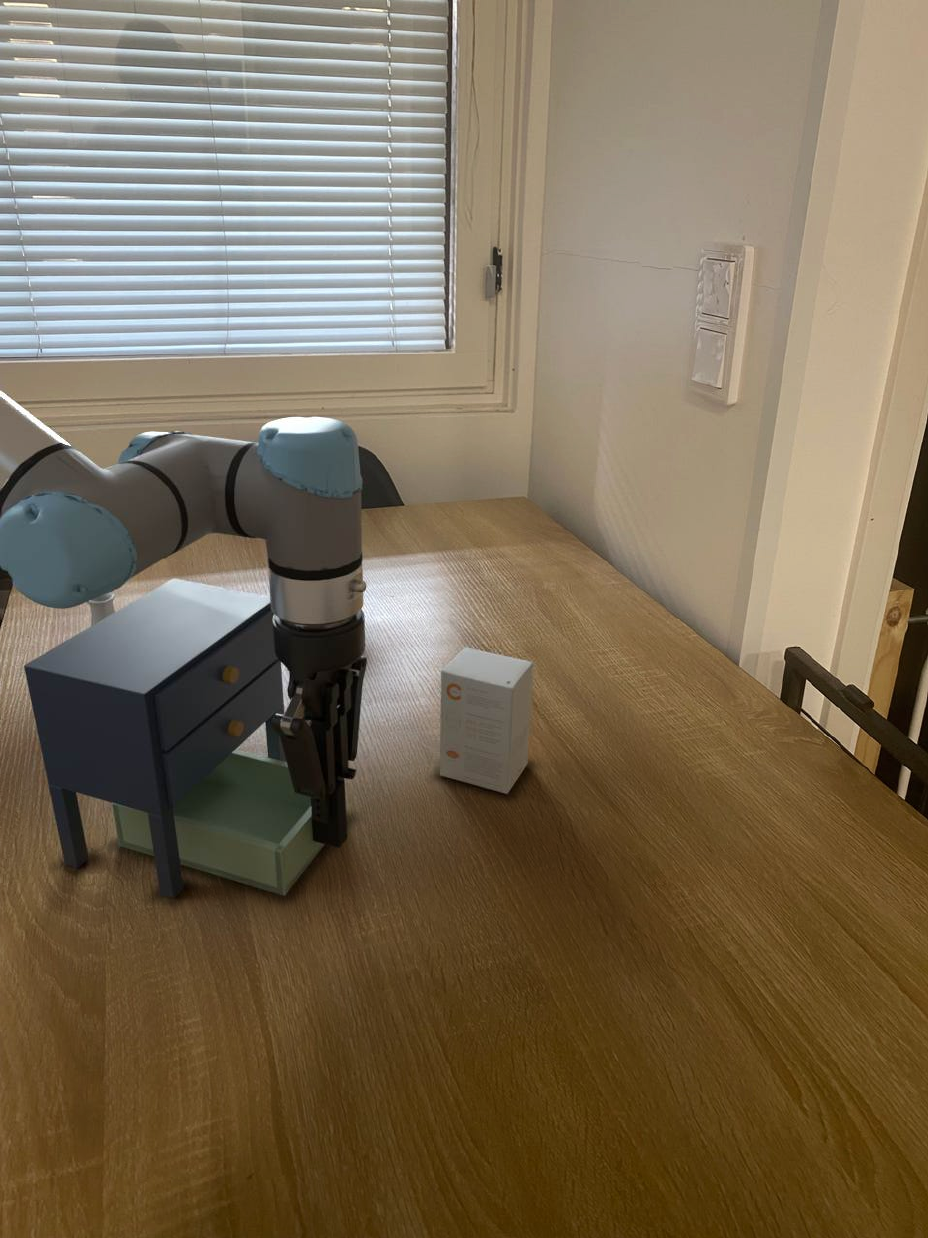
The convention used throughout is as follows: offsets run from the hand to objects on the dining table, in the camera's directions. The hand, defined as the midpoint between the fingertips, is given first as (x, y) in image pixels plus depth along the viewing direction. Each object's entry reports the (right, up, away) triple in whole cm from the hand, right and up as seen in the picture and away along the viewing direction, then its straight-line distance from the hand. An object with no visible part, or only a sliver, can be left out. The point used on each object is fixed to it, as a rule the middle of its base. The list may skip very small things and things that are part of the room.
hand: (330, 839), depth 85 cm
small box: (+15, +4, +15) cm, 21 cm away
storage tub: (-10, 0, +4) cm, 11 cm away
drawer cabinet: (-15, +1, +6) cm, 16 cm away
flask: (-33, +14, +33) cm, 49 cm away
